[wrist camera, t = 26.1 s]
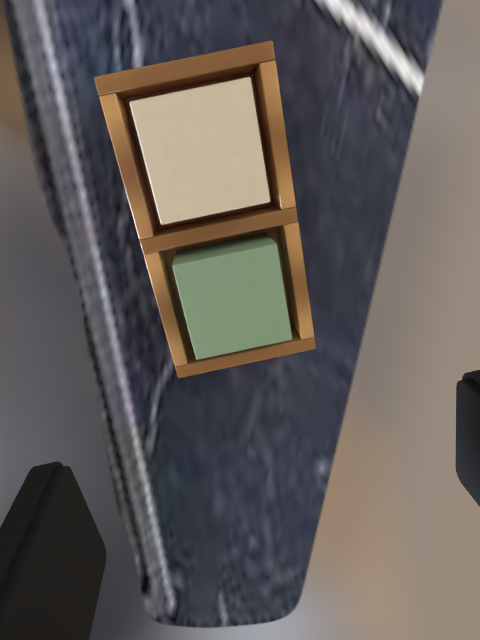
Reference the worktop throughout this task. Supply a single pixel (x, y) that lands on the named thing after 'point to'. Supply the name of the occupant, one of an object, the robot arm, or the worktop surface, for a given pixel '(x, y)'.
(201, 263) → the pad
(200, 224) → the holder
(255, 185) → the pad
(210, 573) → the worktop surface
